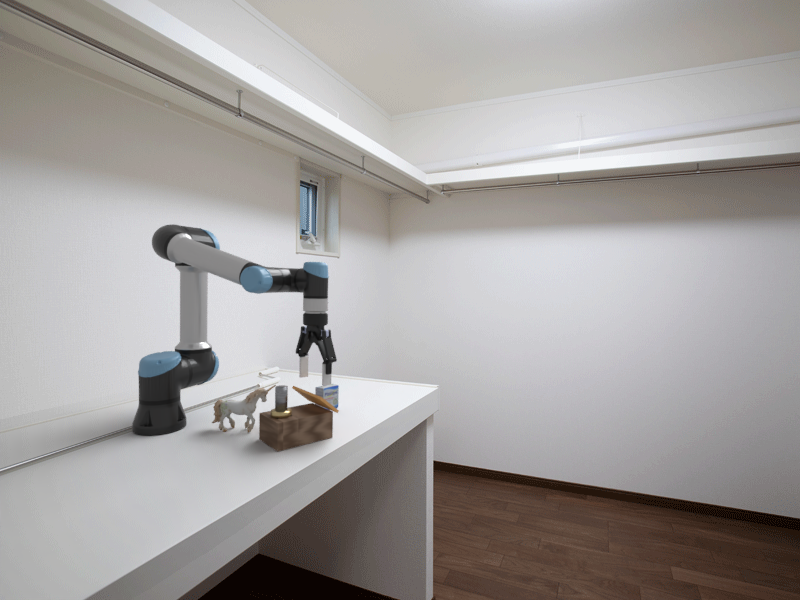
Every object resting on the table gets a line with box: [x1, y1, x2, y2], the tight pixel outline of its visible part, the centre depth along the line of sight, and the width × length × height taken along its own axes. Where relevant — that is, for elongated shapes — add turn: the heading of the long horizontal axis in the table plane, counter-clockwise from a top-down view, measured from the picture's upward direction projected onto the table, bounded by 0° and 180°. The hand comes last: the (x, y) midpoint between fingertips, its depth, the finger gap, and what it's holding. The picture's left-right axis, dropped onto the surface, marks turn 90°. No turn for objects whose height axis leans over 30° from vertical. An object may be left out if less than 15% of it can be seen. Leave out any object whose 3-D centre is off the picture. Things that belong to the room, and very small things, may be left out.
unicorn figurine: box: [211, 384, 277, 434], centre depth 140 cm, size 7×20×13 cm, turn 104°
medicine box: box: [314, 383, 340, 410], centre depth 165 cm, size 8×4×9 cm, turn 143°
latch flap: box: [291, 385, 340, 414], centre depth 137 cm, size 8×17×1 cm
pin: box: [270, 384, 292, 419], centre depth 130 cm, size 6×6×16 cm
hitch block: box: [258, 402, 334, 453], centre depth 133 cm, size 18×12×8 cm, turn 132°
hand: (314, 380), depth 137 cm, fingers open, 13 cm apart
